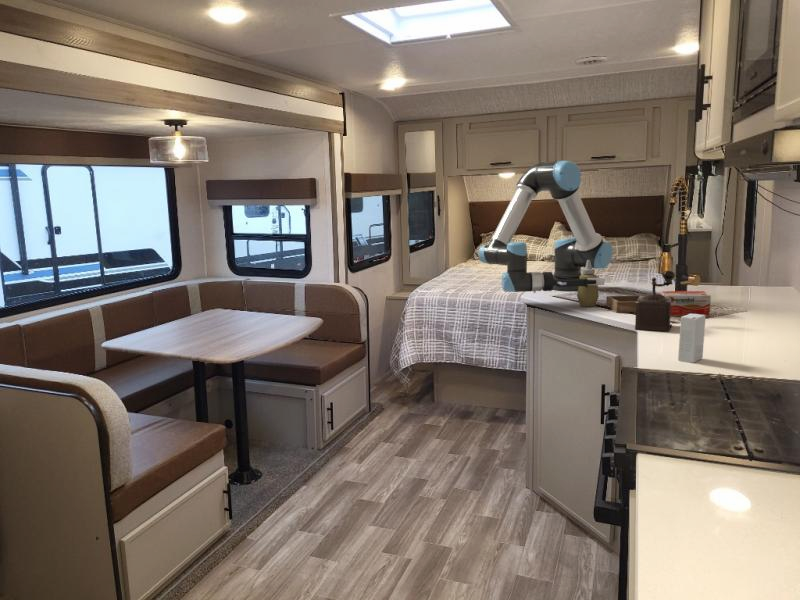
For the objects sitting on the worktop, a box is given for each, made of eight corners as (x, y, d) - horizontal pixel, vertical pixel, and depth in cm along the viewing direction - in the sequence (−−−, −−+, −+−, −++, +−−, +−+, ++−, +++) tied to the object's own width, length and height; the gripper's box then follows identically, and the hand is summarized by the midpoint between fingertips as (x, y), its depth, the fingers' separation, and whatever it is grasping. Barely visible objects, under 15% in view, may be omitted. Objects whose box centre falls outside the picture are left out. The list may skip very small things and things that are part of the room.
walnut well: (606, 306, 241) (606, 296, 240) (640, 305, 241) (640, 295, 240) (616, 312, 228) (617, 302, 228) (652, 312, 228) (653, 301, 227)
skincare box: (686, 356, 169) (689, 312, 167) (703, 358, 166) (706, 314, 164) (677, 360, 165) (679, 316, 163) (694, 363, 162) (696, 318, 160)
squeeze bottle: (572, 305, 246) (573, 259, 242) (588, 302, 249) (589, 258, 246) (586, 308, 238) (587, 261, 235) (603, 306, 242) (604, 260, 239)
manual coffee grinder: (671, 332, 197) (673, 276, 193) (634, 329, 201) (636, 275, 198) (673, 322, 210) (675, 269, 207) (638, 320, 215) (640, 268, 212)
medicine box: (664, 316, 220) (665, 294, 219) (659, 312, 228) (660, 290, 226) (710, 317, 217) (711, 294, 216) (703, 312, 225) (704, 291, 223)
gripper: (537, 287, 253) (594, 285, 252) (547, 295, 234) (608, 293, 233) (537, 268, 251) (594, 267, 251) (547, 275, 232) (609, 273, 232)
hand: (601, 280), depth 242 cm, fingers closed on squeeze bottle, 6 cm apart
